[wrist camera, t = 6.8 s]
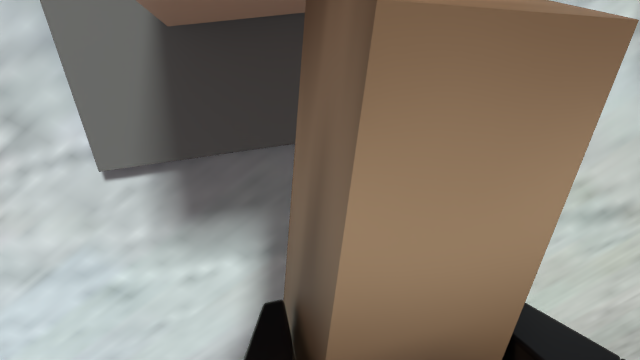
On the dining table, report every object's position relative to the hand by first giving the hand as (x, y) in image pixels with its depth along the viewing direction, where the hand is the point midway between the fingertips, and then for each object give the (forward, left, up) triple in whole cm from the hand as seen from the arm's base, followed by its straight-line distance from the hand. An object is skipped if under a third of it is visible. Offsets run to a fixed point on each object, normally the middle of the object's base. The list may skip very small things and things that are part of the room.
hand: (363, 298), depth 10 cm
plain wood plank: (0, 0, -1) cm, 1 cm away
